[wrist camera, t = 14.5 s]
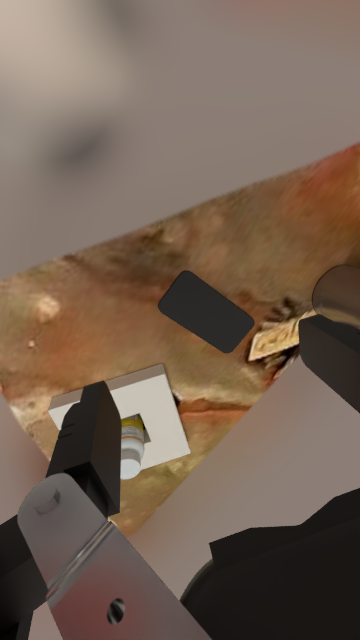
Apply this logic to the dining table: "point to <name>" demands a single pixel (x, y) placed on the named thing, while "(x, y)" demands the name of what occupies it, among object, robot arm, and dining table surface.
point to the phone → (205, 312)
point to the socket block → (141, 412)
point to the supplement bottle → (131, 446)
